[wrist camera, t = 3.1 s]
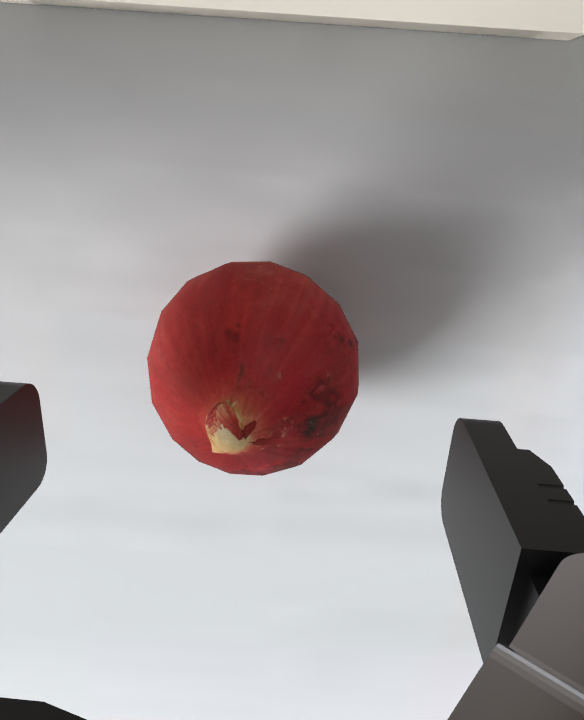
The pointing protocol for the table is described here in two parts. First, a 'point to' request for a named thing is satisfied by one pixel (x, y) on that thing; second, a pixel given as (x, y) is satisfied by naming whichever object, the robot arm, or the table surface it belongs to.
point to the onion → (253, 368)
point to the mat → (379, 13)
